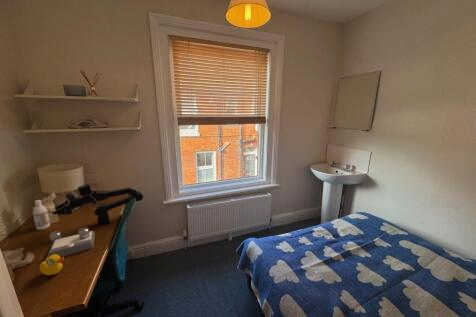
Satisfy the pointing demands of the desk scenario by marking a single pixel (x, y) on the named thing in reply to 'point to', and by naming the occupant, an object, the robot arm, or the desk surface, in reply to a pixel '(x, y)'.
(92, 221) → the desk surface
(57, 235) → the cylinder
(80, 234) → the cylinder
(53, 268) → the duckling
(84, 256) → the desk surface
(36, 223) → the bath foam
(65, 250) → the scale
